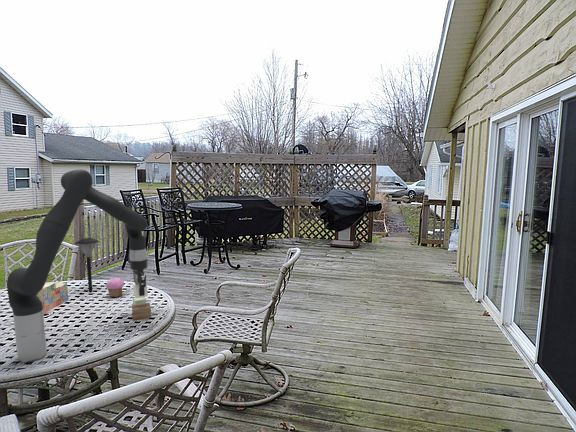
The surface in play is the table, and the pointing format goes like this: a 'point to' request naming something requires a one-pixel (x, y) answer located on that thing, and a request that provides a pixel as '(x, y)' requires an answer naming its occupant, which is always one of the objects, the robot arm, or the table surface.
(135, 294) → the cream cube
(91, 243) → the solar garden light
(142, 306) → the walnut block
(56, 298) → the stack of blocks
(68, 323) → the table surface
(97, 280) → the table surface
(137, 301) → the sage green cube
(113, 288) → the cupcake
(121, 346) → the table surface
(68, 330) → the table surface
